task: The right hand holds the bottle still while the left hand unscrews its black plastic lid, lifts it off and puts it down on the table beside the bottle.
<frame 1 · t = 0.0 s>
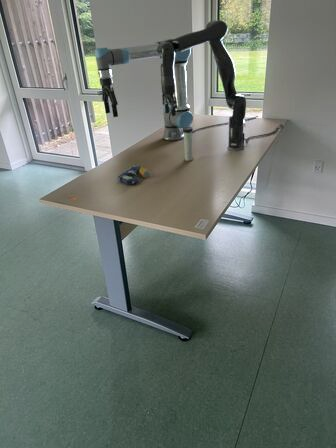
left hand: (111, 114, 206), 28 cm above the table, tool pointing down, fingers open, 13 cm apart
right hand: (170, 114, 190), 29 cm above the table, tool pointing down, fingers open, 8 cm apart
bottle: (189, 159, 208), on the table
lid: (187, 128, 198), point 19 cm above the table, screwed on, not yet turned
spray gun: (135, 178, 190), on the table
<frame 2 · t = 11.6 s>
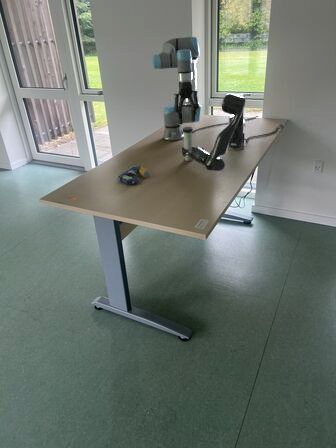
left hand: (187, 122, 197), 23 cm above the table, tool pointing down, fingers open, 8 cm apart
right hand: (186, 148, 207), 7 cm above the table, tool horizontal, fingers closed on bottle, 4 cm apart
bottle: (189, 159, 208), on the table, touching right hand
everything else where it was.
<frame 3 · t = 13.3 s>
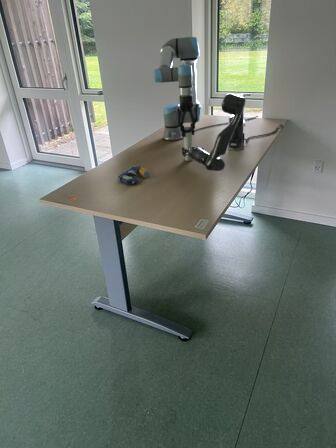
left hand: (187, 135, 200), 15 cm above the table, tool pointing down, fingers closed on lid, 6 cm apart
right hand: (186, 148, 207), 7 cm above the table, tool horizontal, fingers closed on bottle, 4 cm apart
bottle: (189, 159, 208), on the table, touching right hand
lid: (187, 128, 198), point 19 cm above the table, screwed on, not yet turned, touching left hand
everything else where it was.
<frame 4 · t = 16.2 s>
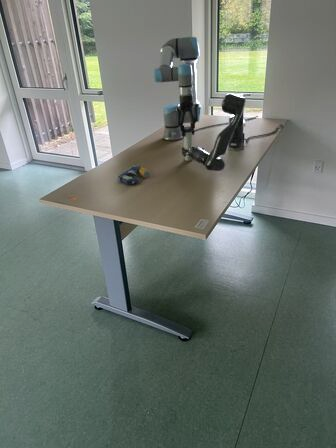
left hand: (187, 135, 200), 15 cm above the table, tool pointing down, fingers closed on lid, 6 cm apart
right hand: (186, 148, 207), 7 cm above the table, tool horizontal, fingers closed on bottle, 4 cm apart
bottle: (189, 159, 208), on the table, touching right hand
lid: (187, 128, 198), point 19 cm above the table, turned 72° so far, risen 0.2 cm, still on its thread, touching left hand
everything else where it was.
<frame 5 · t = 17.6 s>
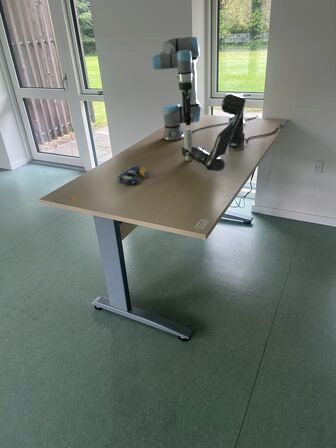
left hand: (187, 123, 197), 22 cm above the table, tool pointing down, fingers closed on lid, 6 cm apart
right hand: (186, 148, 207), 7 cm above the table, tool horizontal, fingers closed on bottle, 4 cm apart
bottle: (189, 159, 208), on the table, touching right hand
lid: (187, 116, 195), point 26 cm above the table, off its thread, touching left hand
everything else where it was.
when the left hand's fingers open (0 cm above the table, at t = 23.2 s): lid drops 3 cm, point 2 cm above the table.
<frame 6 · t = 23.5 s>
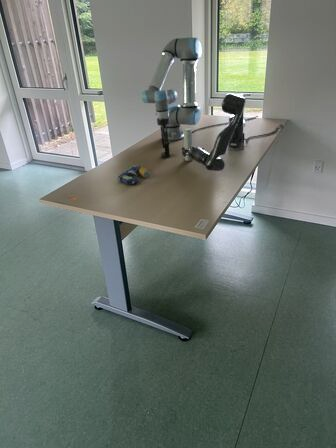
left hand: (166, 151, 215), 3 cm above the table, tool pointing down, fingers open, 13 cm apart
right hand: (186, 148, 207), 7 cm above the table, tool horizontal, fingers closed on bottle, 4 cm apart
bottle: (189, 159, 208), on the table, touching right hand
lid: (165, 153, 215), point 2 cm above the table, off its thread
everything else where it was.
when the right hand's fingers open (7 cm above the table, at t = 23.9 s): bottle stays where it is, on the table.
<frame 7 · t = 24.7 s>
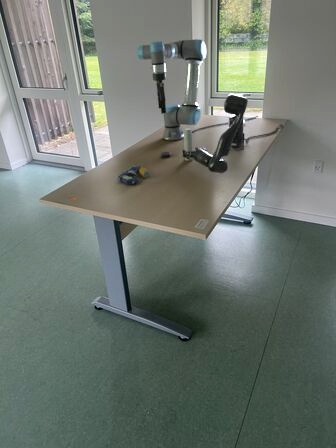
left hand: (162, 110, 202), 29 cm above the table, tool pointing down, fingers open, 13 cm apart
right hand: (189, 149, 204), 7 cm above the table, tool horizontal, fingers open, 8 cm apart
bottle: (189, 159, 208), on the table
everything else where it was.
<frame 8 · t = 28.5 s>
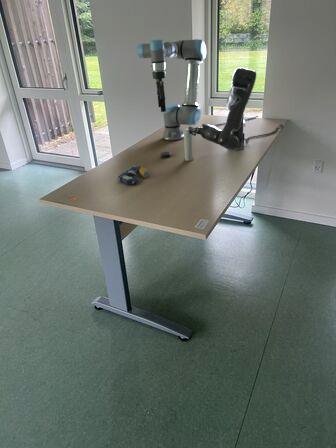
left hand: (162, 109, 201), 30 cm above the table, tool pointing down, fingers open, 13 cm apart
right hand: (196, 126, 188), 22 cm above the table, tool horizontal, fingers open, 8 cm apart
nothing on the table moved.
at the end: lid came off its thread; lid point 1.6 cm above the table; the left hand is holding nothing; the right hand is holding nothing; bottle tilted 0°; bottle moved 0.0 cm from its start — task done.
